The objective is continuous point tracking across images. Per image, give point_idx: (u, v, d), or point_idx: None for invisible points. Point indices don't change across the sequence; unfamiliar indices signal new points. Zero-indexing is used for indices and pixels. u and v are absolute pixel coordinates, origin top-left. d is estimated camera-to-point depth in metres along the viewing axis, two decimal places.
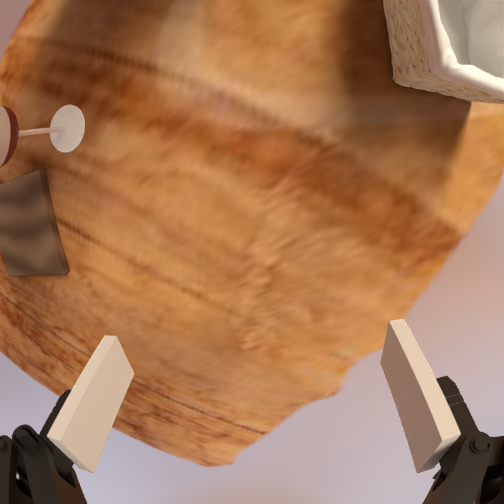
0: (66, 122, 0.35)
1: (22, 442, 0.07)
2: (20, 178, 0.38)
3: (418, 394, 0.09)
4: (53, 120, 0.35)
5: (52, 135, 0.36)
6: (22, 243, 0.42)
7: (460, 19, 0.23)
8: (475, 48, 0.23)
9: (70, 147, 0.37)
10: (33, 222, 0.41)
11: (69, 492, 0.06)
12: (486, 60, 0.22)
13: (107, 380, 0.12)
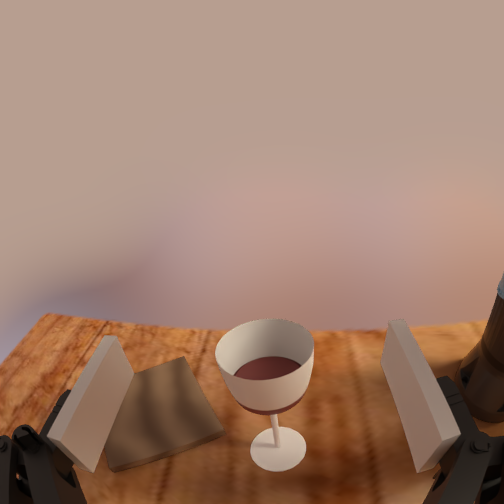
0: (285, 446, 0.34)
1: (22, 442, 0.07)
2: (207, 405, 0.41)
3: (418, 394, 0.09)
4: (281, 429, 0.37)
5: (265, 434, 0.36)
6: (134, 411, 0.40)
7: None
8: None
9: (259, 460, 0.32)
10: (161, 428, 0.37)
11: (69, 492, 0.06)
12: None
13: (107, 380, 0.12)
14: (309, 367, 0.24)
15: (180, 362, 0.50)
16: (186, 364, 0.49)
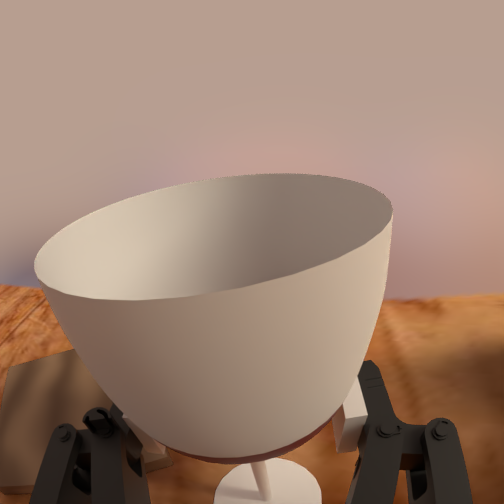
0: (282, 497, 0.15)
1: (94, 425, 0.08)
2: None
3: None
4: (275, 462, 0.18)
5: (243, 471, 0.18)
6: (41, 407, 0.21)
7: None
8: None
9: None
10: None
11: (134, 483, 0.07)
12: None
13: None
14: (384, 279, 0.06)
15: None
16: None
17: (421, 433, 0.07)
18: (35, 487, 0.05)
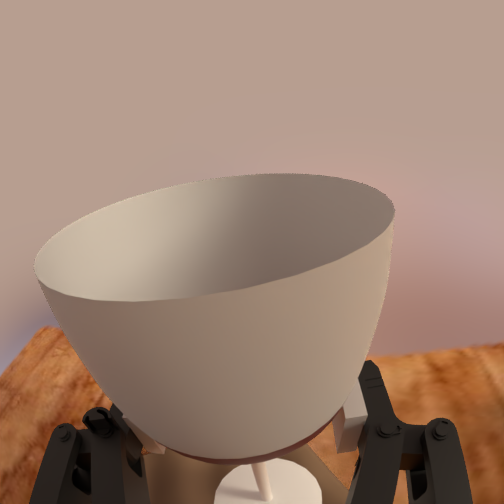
0: (282, 497, 0.15)
1: (94, 425, 0.08)
2: (338, 485, 0.21)
3: None
4: (275, 462, 0.18)
5: (243, 471, 0.18)
6: None
7: None
8: None
9: None
10: None
11: (135, 483, 0.07)
12: None
13: None
14: (385, 280, 0.06)
15: None
16: None
17: (421, 433, 0.07)
18: (35, 487, 0.05)
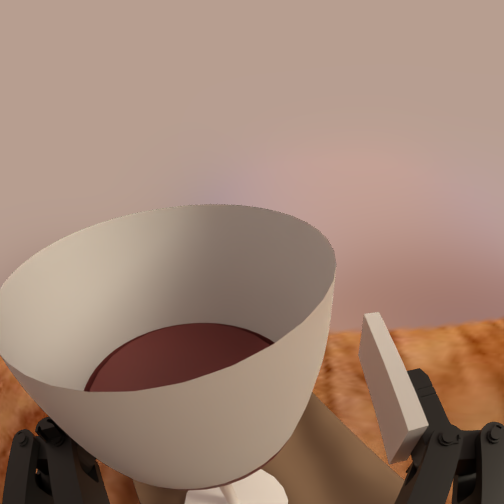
0: None
1: (46, 434, 0.07)
2: (391, 473, 0.16)
3: (388, 385, 0.09)
4: None
5: None
6: None
7: None
8: None
9: None
10: None
11: (91, 487, 0.07)
12: None
13: None
14: (316, 353, 0.05)
15: None
16: (315, 399, 0.25)
17: (476, 435, 0.06)
18: (5, 492, 0.05)
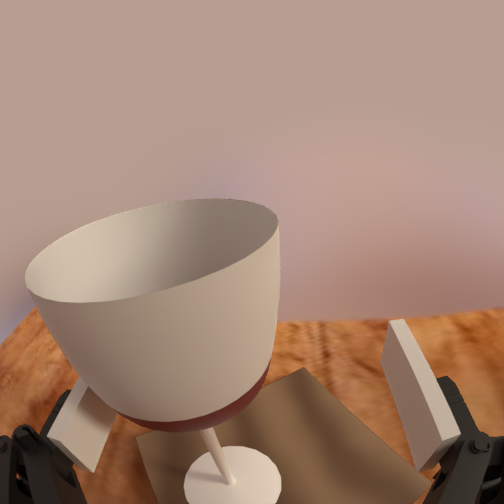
0: (244, 481, 0.17)
1: (22, 442, 0.07)
2: (387, 449, 0.18)
3: (418, 394, 0.09)
4: (240, 450, 0.20)
5: (210, 457, 0.20)
6: None
7: None
8: None
9: (196, 502, 0.16)
10: None
11: (69, 492, 0.06)
12: None
13: None
14: (263, 291, 0.08)
15: (302, 379, 0.27)
16: (315, 381, 0.27)
17: None
18: None
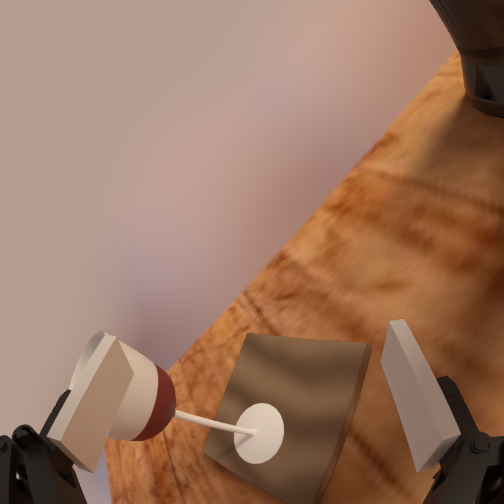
0: (259, 426, 0.29)
1: (22, 442, 0.07)
2: (322, 343, 0.31)
3: (418, 394, 0.09)
4: (247, 412, 0.32)
5: None
6: None
7: None
8: None
9: (251, 458, 0.27)
10: (307, 415, 0.27)
11: (69, 492, 0.06)
12: None
13: (107, 380, 0.12)
14: None
15: (250, 340, 0.39)
16: (258, 336, 0.38)
17: None
18: None
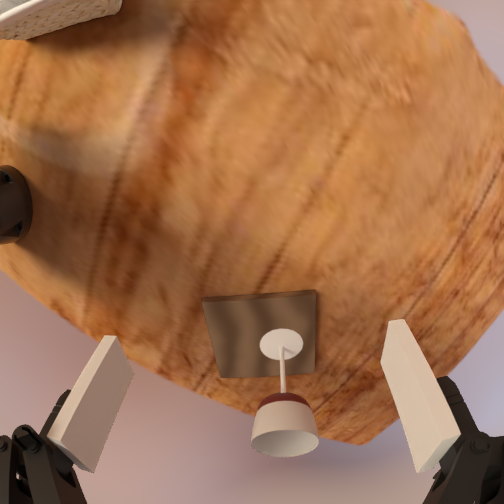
0: (275, 345, 0.50)
1: (22, 442, 0.07)
2: (209, 328, 0.50)
3: (418, 394, 0.09)
4: (271, 356, 0.52)
5: (285, 357, 0.52)
6: None
7: None
8: None
9: (299, 341, 0.50)
10: (256, 321, 0.48)
11: (69, 492, 0.06)
12: None
13: (107, 380, 0.12)
14: (263, 425, 0.32)
15: (225, 373, 0.54)
16: (220, 369, 0.54)
17: None
18: None
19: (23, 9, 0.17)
